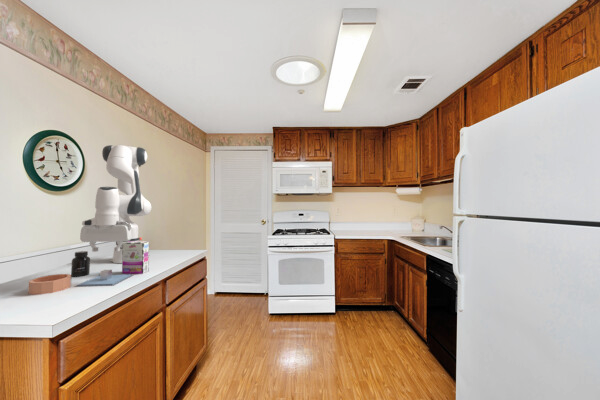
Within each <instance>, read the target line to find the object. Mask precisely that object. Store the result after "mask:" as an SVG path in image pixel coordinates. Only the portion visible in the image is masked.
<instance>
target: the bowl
mask: <svg viewBox="0 0 600 400" xmlns="http://www.w3.org/2000/svg"><path fill="white" fill-rule="evenodd" d="M71 286H72V277H71V274H69V273H58V274H50V275H49V274H48V275H44V276H39V277H36V278H31V279H30V280H29V281H28V290H27V291H28V294H29V295H32V296H35V295H46V294H52V293H56V292H57V293H58V292H61V291H64V290H67V289H69V288H71Z"/></svg>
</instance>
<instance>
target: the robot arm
mask: <svg viewBox="0 0 600 400" xmlns="http://www.w3.org/2000/svg"><path fill="white" fill-rule="evenodd" d="M101 155H102V159H103V160H104V162H106V172H108V174H109V175H110V176H111V177H113V178H114V179H117V187H114V186H100V187H98V188H97V191H96V193H95V194H96V196H95V202H94V203H95V205H94V206H95V210H96V211H95V213H94V217H93V218H89V219H85V220H83V221H81V225H82V227H81V230H80V238H79V239H80V241H81V242H82V243H83V242H84V243H85V242H86V243H89V246H90V248H91V251H92V253H95V252H99V247H98V246H97V245H96V244H97V242H99V243H100V242H101V243H102V242H104V243H105V242H106V243H107V242H109V243H110V242H115V245H116V246H115V247H114V249H113V255H112V259H110V262H112V263H114V264H122V252H123V242H128V241H142V239H143V237H139V233H140V232H139V225H138V224H137V223H136V222H134V221H132V220H131V219H130V217H143V216H147V215H149V214H150V213H151V211H152V208H153V207H152V204H151V202H150V201H149V200H148V199H146V197H145V196H144V195H143V193H142V192H141V184H140V171H139V168H141V167H142V166H143V165H145V164H146V163H147V160H148V153H147V150H146V149H145V148H143V147H140V146H138V147H136V146H132V145H131V146H129V145H124V144H117V145H106V146H104V147H103V148H102V151H101ZM119 191H120V192H121V193H123V194H119V193H120V192H119ZM149 257H150V254H149Z"/></svg>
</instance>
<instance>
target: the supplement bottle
mask: <svg viewBox="0 0 600 400" xmlns="http://www.w3.org/2000/svg"><path fill="white" fill-rule="evenodd" d="M88 253H89V252H88V250H87V251H86V250H85V251H84V250H82V251H75V252H74V257H73V258H72V259H71V265H70V266H71V269H70V271H71V272H70V273H71V274H70V275H71V278H82V277H86V276H89V275H90V272H91V271H90V269H91V268H90V266H91V258H90V256H89V254H88Z"/></svg>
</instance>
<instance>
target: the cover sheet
mask: <svg viewBox="0 0 600 400" xmlns="http://www.w3.org/2000/svg"><path fill="white" fill-rule="evenodd" d="M131 275H132V274H113V269H103V270H100V275H98V276H95V277H93V278H90V279H87V280H85V281H83V282H80V283H78V284H77V285H78V286H91V287H98V286H97V285H114V284H116V283H118V282H120V281H121V280H123V279H125V278H127V277H129V276H131ZM120 283H121V282H120ZM118 284H119V283H118ZM116 285H117V284H116ZM114 286H115V285H114Z"/></svg>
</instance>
